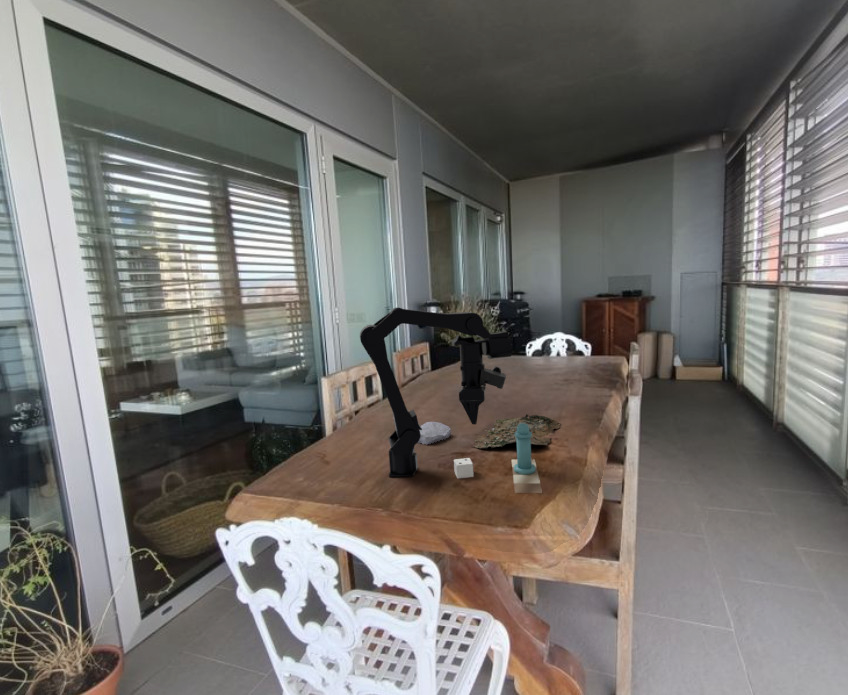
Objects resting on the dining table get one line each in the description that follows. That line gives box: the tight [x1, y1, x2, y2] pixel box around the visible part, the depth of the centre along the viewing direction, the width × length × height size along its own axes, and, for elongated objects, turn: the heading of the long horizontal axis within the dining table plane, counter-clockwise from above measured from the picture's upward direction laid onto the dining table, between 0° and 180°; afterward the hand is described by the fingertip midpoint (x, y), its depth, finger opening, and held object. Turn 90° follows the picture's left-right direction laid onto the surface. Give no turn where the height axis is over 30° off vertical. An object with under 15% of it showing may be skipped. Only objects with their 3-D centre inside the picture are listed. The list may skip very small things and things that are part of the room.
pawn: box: [514, 423, 536, 475], centre depth 115 cm, size 5×5×12 cm
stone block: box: [417, 421, 452, 446], centre depth 147 cm, size 12×5×10 cm
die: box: [453, 457, 474, 479], centre depth 116 cm, size 4×4×4 cm
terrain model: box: [473, 414, 562, 450], centre depth 145 cm, size 31×25×5 cm
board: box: [511, 458, 543, 494], centre depth 113 cm, size 6×20×1 cm, turn 172°
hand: (475, 419), depth 123 cm, fingers open, 9 cm apart
